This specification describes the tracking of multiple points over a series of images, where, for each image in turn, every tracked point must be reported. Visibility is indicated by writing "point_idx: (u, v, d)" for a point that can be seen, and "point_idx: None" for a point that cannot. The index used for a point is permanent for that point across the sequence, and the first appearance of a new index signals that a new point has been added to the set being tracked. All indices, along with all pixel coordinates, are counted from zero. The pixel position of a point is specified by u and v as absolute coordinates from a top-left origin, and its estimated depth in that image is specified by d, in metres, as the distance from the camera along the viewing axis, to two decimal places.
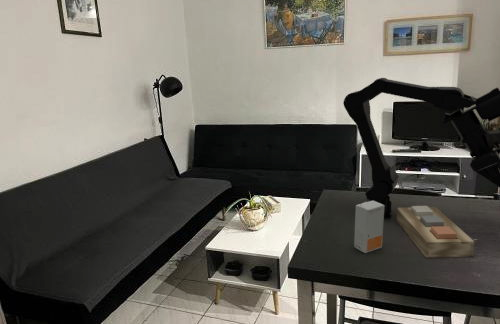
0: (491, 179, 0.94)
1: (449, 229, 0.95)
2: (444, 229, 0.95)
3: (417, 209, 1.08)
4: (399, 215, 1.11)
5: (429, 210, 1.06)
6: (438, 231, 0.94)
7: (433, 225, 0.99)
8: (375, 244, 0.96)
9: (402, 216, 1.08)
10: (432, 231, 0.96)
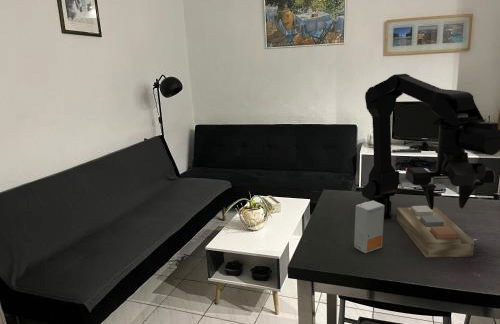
0: (425, 195, 0.93)
1: (449, 229, 0.95)
2: (444, 229, 0.95)
3: (417, 209, 1.08)
4: (399, 215, 1.11)
5: (429, 210, 1.06)
6: (438, 231, 0.94)
7: (433, 225, 0.99)
8: (375, 244, 0.96)
9: (402, 216, 1.08)
10: (432, 231, 0.96)
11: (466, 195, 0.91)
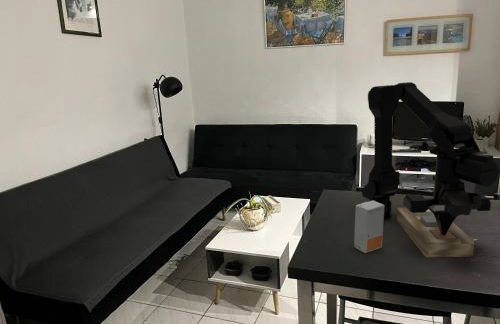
0: (436, 220, 0.95)
1: (448, 233, 0.95)
2: None
3: None
4: (399, 215, 1.11)
5: (429, 210, 1.06)
6: (438, 235, 0.94)
7: (433, 225, 0.99)
8: (375, 244, 0.96)
9: (402, 216, 1.08)
10: None
11: (448, 222, 0.93)
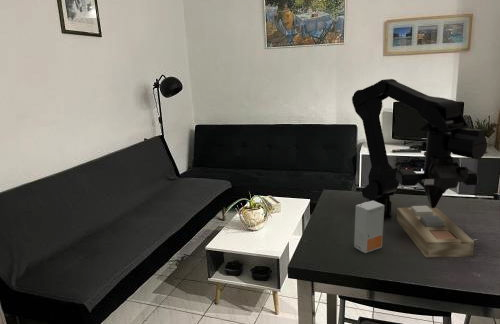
0: (426, 194, 1.00)
1: (448, 234, 0.95)
2: (444, 234, 0.95)
3: (417, 209, 1.08)
4: (399, 215, 1.11)
5: (429, 210, 1.06)
6: (438, 236, 0.94)
7: (433, 225, 0.99)
8: (375, 244, 0.96)
9: (402, 216, 1.08)
10: None
11: (437, 196, 0.98)
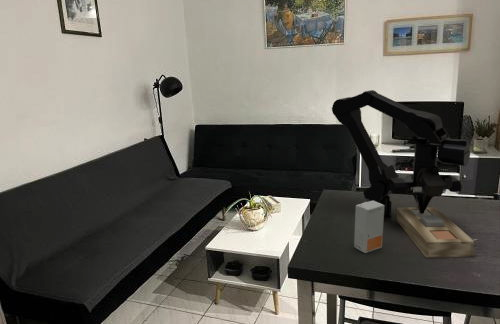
0: None
1: (448, 234, 0.95)
2: (444, 234, 0.95)
3: (417, 213, 1.08)
4: (399, 215, 1.11)
5: (429, 214, 1.07)
6: (438, 236, 0.94)
7: (433, 225, 0.99)
8: (375, 244, 0.96)
9: (402, 216, 1.08)
10: None
11: (425, 202, 1.06)
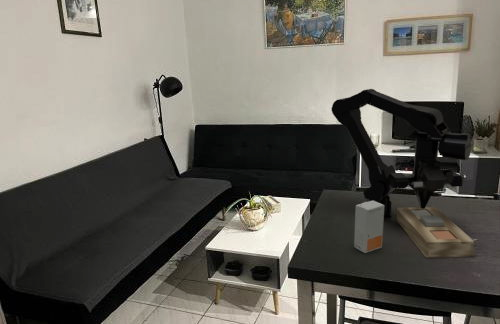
0: (416, 196, 1.08)
1: (448, 234, 0.95)
2: (444, 234, 0.95)
3: (416, 213, 1.08)
4: (399, 215, 1.11)
5: None
6: (438, 236, 0.94)
7: (433, 225, 0.99)
8: (375, 244, 0.96)
9: (402, 216, 1.08)
10: None
11: (426, 197, 1.06)
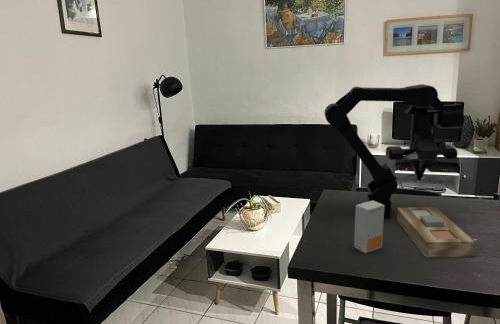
0: (413, 168, 1.14)
1: (448, 234, 0.95)
2: (444, 234, 0.95)
3: (416, 213, 1.08)
4: (399, 215, 1.11)
5: None
6: (438, 236, 0.94)
7: (433, 225, 0.99)
8: (375, 244, 0.96)
9: (402, 216, 1.08)
10: None
11: (422, 169, 1.11)
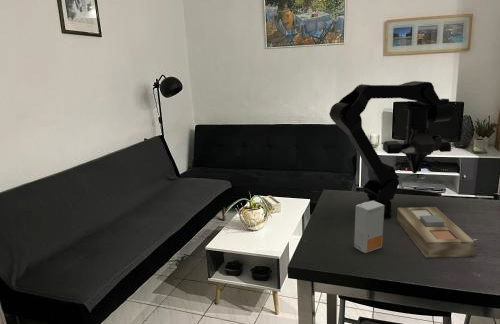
0: (409, 162, 1.18)
1: (448, 234, 0.95)
2: (444, 234, 0.95)
3: (416, 213, 1.08)
4: (399, 215, 1.11)
5: None
6: (438, 236, 0.94)
7: (433, 225, 0.99)
8: (375, 244, 0.96)
9: (402, 216, 1.08)
10: None
11: (418, 162, 1.16)
